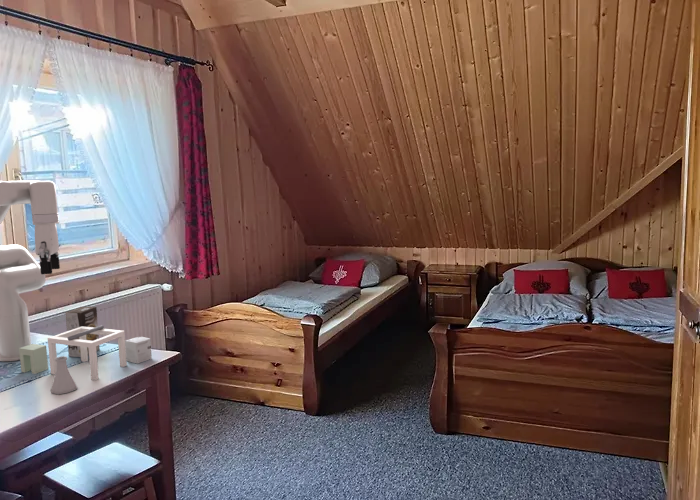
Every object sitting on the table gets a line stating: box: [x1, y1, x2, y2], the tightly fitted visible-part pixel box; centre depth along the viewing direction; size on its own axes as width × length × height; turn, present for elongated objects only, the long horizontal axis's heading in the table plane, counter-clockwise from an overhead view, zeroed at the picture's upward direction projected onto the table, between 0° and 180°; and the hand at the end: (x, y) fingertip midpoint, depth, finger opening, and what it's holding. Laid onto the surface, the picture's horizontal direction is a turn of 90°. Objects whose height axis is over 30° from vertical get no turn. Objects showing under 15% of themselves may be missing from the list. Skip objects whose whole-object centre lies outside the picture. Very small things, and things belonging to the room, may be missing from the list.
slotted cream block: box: [19, 343, 49, 375], centre depth 184 cm, size 6×5×8 cm
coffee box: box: [64, 306, 101, 358], centre depth 200 cm, size 9×6×16 cm
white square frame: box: [47, 324, 128, 381], centre depth 183 cm, size 18×14×13 cm
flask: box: [50, 355, 78, 395], centre depth 167 cm, size 7×7×10 cm
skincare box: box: [125, 336, 153, 364], centre depth 193 cm, size 6×6×7 cm
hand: (50, 271), depth 184 cm, fingers open, 9 cm apart
